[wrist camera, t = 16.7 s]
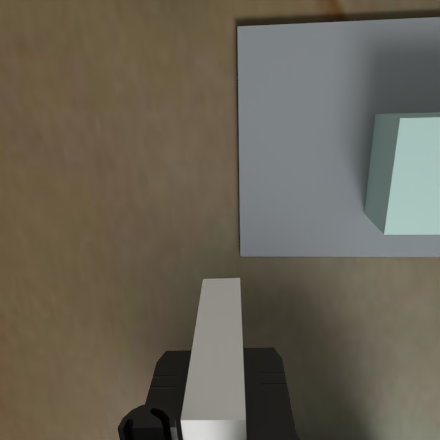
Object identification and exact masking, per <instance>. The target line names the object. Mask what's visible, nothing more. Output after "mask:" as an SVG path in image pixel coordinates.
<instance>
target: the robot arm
mask: <svg viewBox="0 0 440 440" xmlns="http://www.w3.org/2000/svg"><path fill="white" fill-rule="evenodd" d="M118 432H119V437H120V440H300V439H299V437H298V436H297V433H296V430H295V426H294V421H293V415H292V410H291V404H290V399H289V394H288V388H287V383H286V378H285V373H284V367H283V361H282V358H281V357H280V356H279V354H278V353H277V352H276V350H275V349H274V348H243V337H242V313H241V288H240V278H220V279H203V282H202V289H201V295H200V301H199V308H198V314H197V320H196V327H195V333H194V339H193V345H192V351H166V352H165V353H164V354H163V356H162V357H161V358H160V359H159V360H158V362H157V364H156V367H155V371H154V374H153V378H152V382H151V385H150V389H149V392H148V396H147V399H146V403H145V405H141V406H139V407H137V408H135V409H133V410H131V411H130V412H129V413H128V414H127V415H126V416H125V417H124V418H123V419H122V421H121V423H120V425H119V426H118Z"/></svg>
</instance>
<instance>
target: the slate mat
mask: <svg viewBox="0 0 440 440" xmlns="http://www.w3.org/2000/svg"><path fill="white" fill-rule="evenodd" d="M237 33H238V114H239V194H240V256H254V257H440V235H384V234H383V233H382V232H381V231H380V230H379V229H378V228H377V227H376V226H375V225H374V224H373V223H372V221H371V220H370V219H369V218H368V217H367V216H366V215H365V214H364V210H365V202H366V193H367V184H368V176H369V167H370V158H371V149H372V141H373V132H374V123H375V114H393V113H430V112H440V17H430V18H408V19H387V20H365V21H344V22H322V23H301V24H279V25H258V26H237Z"/></svg>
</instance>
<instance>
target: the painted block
mask: <svg viewBox="0 0 440 440" xmlns="http://www.w3.org/2000/svg"><path fill="white" fill-rule="evenodd" d="M364 214H365V215H366V216H367V217H368V218H369V219H370V220H371V221H372V223H373V224H374V225H375V226H376V227H377V228H378V229H379V230H380V231H381V232H382V233H383V234H384V235H440V112H430V113H393V114H375V123H374V132H373V141H372V149H371V158H370V167H369V176H368V184H367V193H366V202H365V210H364Z"/></svg>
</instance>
